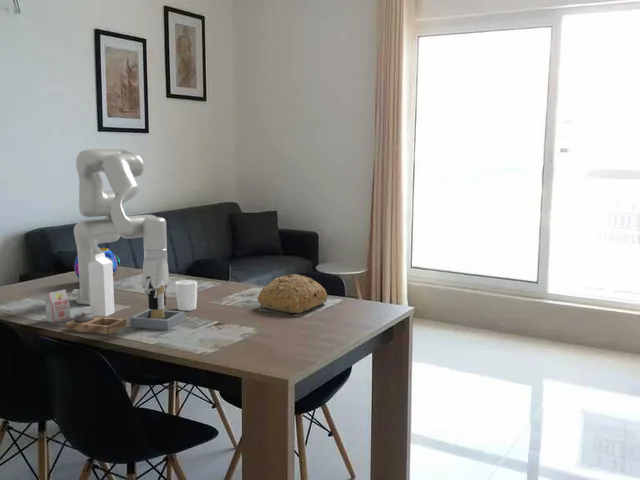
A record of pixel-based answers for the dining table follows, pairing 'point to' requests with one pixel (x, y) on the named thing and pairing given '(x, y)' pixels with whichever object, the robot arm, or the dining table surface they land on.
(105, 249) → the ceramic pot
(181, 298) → the white cup
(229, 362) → the dining table surface
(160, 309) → the sprinkles bottle
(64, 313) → the white food bag
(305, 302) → the bread
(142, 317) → the tray
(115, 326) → the holder
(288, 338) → the dining table surface
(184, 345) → the dining table surface
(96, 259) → the milk
